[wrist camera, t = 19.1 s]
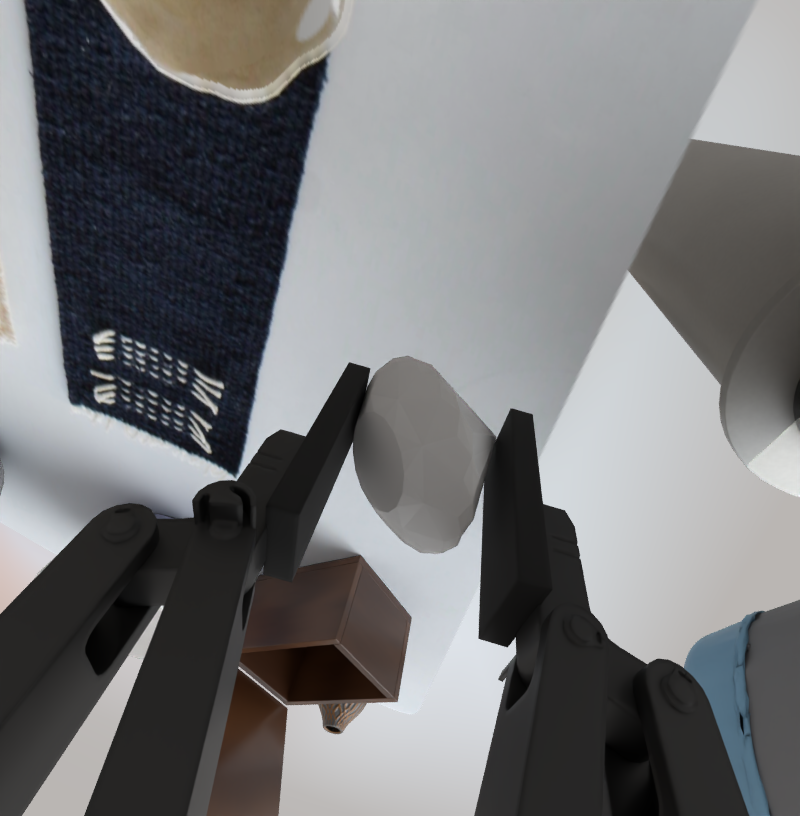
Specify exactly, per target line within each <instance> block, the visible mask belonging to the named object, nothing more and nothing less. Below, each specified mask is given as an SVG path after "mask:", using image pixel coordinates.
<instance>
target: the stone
mask: <svg viewBox="0 0 800 816" xmlns="http://www.w3.org/2000/svg"><path fill="white" fill-rule="evenodd" d="M3 485H4V469H3V466H2V463H1V460H0V495H1V491H2V488H3Z"/></svg>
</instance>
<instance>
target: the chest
mask: <svg viewBox="0 0 800 816" xmlns="http://www.w3.org/2000/svg"><path fill="white" fill-rule="evenodd" d="M410 624H411V616H410V615H409V614H408V613H407V611H406V610H405V609H404V608H403V607H402V605H401V604H400V603H399V602H398V600H397V599H396V598H395V597H394V596H393V594H392V593H391V592H390V591H389V589H388V588H387V587H386V586H385V584H384V583H383V582H382V581H381V580H380V578H379V577H378V576H377V575H376V573H375V572H374V571H373V570H372V568H371V567H370V566H369V565H368V564H367V562H366V561H365V560H364V559H363V557H362V556H355V557H350V558H345V559H340V560H335V561H330V562H325V563H320V564H315V565H310V566H305V567H300V568H298V569H297V572H296V574H295V576H294V579H293V581H292V583H291V582H287V581H284V580H281V579H277V578H274V577H270V576H267V575H259V576H258V578H257V580H256V582H255V592H254V597H253V602H252V606H251V611H250V616H249V620H248V625H247V629H246V634H245V639H244V643H243V648H242V653H241V657H240V662H239V667H241V668H242V669H243V670H244V671H246V672H247V673H248V674H249V675H251V676H252V677H253V678H254V679H255V680H256V681H258V682H259V683H260V684H261V685H263V686H264V687H265V688H266V689H267V690H269V691H270V692H271V693H272V694H274V695H275V696H276V697H277V698H279V699H280V700H281V701H282V702H283V703H284V704H286V705H307V704H308V705H309V704H343V703H376V702H398V696H399V690H400V684H401V678H402V672H403V666H404V660H405V654H406V648H407V642H408V636H409V630H410Z"/></svg>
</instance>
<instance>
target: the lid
mask: <svg viewBox="0 0 800 816" xmlns="http://www.w3.org/2000/svg"><path fill="white" fill-rule="evenodd" d="M286 720H287V708H286V707H285V706H283V705H282V704H281V703H280V702H279V701H278V700H276V699H275V698H274V697H273V696H271V695H270V694H269V693H268V692H266V691H265V690H264V689H263V688H261V687H260V686H259V685H257V683H255V682H254V681H253V680H252V679H250V678H249V677H248V676H247V675H245V674H244V673H243V672H242V671H240V670H239V669H238V671H237V676H236V680H235V685H234V690H233V694H232V699H231V704H230V708H229V713H228V717H227V722H226V727H225V731H224V736H223V741H222V745H221V750H220V754H219V759H218V764H217V768H216V773H215V778H214V782H213V787H212V792H211V796H210V801H209V805H208V810H207V815H206V816H278V814H279V802H280V790H281V779H282V766H283V754H284V744H285V732H286Z"/></svg>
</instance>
